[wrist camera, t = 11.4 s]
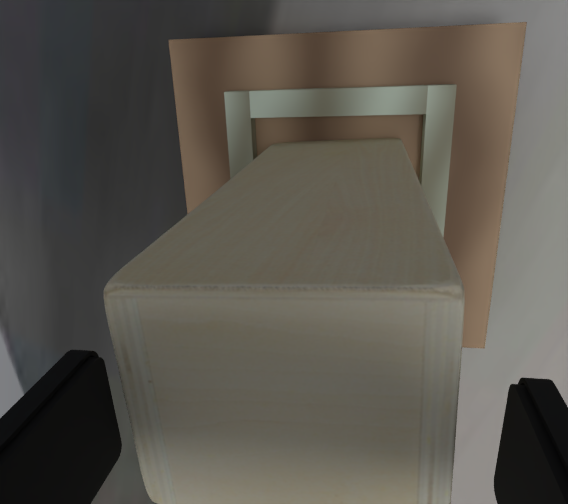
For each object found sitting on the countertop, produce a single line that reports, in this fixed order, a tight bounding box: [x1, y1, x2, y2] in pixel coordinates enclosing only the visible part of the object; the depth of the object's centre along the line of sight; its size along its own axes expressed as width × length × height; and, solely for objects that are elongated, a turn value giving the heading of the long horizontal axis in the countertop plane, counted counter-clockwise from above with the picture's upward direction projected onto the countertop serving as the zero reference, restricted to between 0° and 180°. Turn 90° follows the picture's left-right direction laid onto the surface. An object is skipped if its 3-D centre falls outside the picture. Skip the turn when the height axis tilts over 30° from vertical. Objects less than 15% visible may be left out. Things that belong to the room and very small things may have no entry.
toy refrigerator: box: [104, 138, 465, 504], centre depth 21 cm, size 8×7×21 cm
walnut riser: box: [169, 22, 527, 348], centre depth 32 cm, size 20×20×6 cm
